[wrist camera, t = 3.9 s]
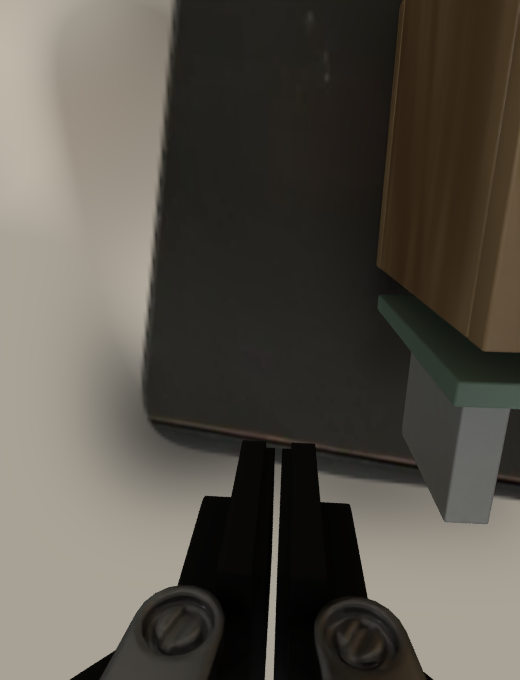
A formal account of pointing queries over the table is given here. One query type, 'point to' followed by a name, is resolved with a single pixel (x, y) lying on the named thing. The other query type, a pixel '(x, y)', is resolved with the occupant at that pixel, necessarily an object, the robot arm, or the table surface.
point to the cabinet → (456, 166)
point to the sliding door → (453, 408)
